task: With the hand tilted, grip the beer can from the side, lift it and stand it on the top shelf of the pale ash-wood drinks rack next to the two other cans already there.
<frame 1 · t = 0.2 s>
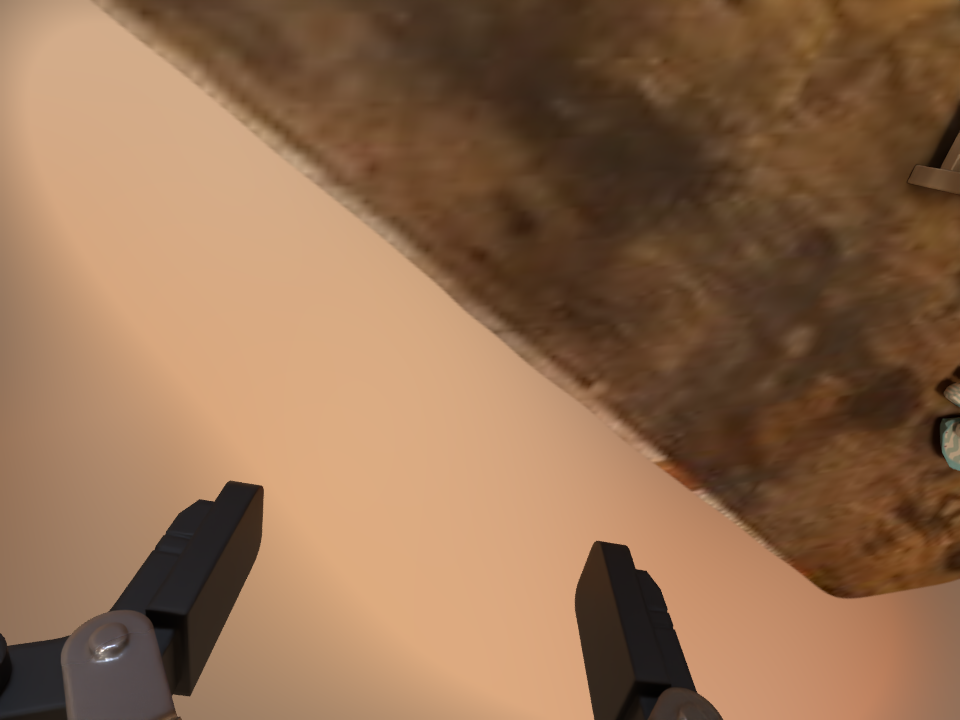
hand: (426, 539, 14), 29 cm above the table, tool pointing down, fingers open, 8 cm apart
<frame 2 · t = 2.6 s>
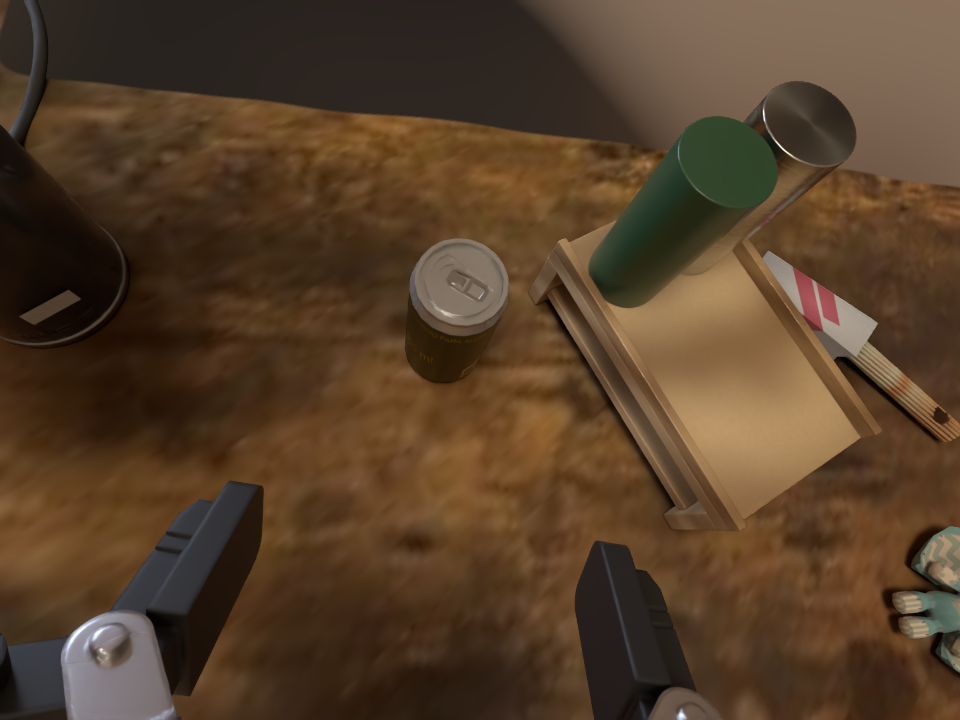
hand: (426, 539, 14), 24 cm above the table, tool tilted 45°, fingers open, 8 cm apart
stuffed animal: (949, 601, 41), on the table
beer can: (441, 349, 41), on the table
rack: (660, 369, 43), on the table
paintbrush: (840, 352, 46), on the table
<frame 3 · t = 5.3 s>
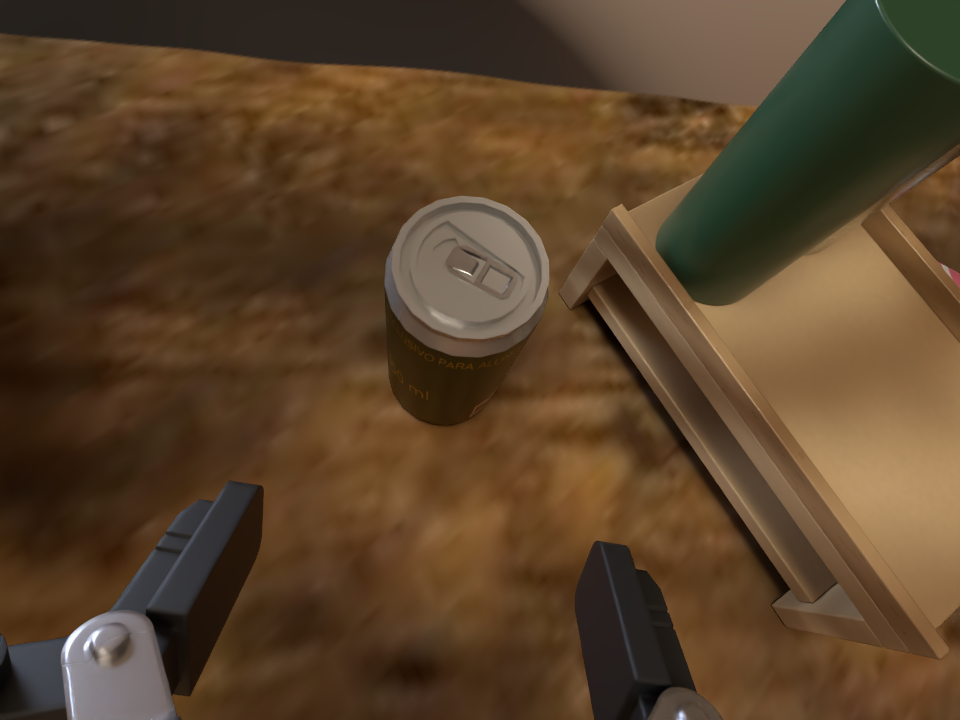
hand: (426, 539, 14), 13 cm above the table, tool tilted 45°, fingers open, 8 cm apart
beer can: (442, 376, 29), on the table
rack: (746, 393, 31), on the table
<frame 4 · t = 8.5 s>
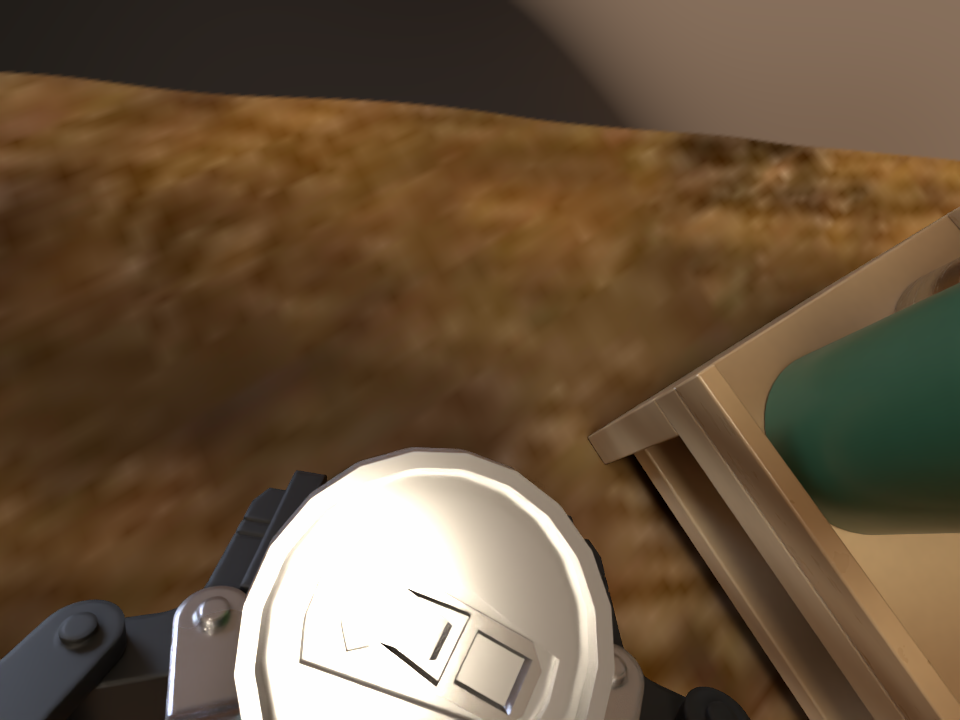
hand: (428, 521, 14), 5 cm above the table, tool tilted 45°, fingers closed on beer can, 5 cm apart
beer can: (411, 583, 19), on the table, touching gripper
rack: (867, 589, 21), on the table
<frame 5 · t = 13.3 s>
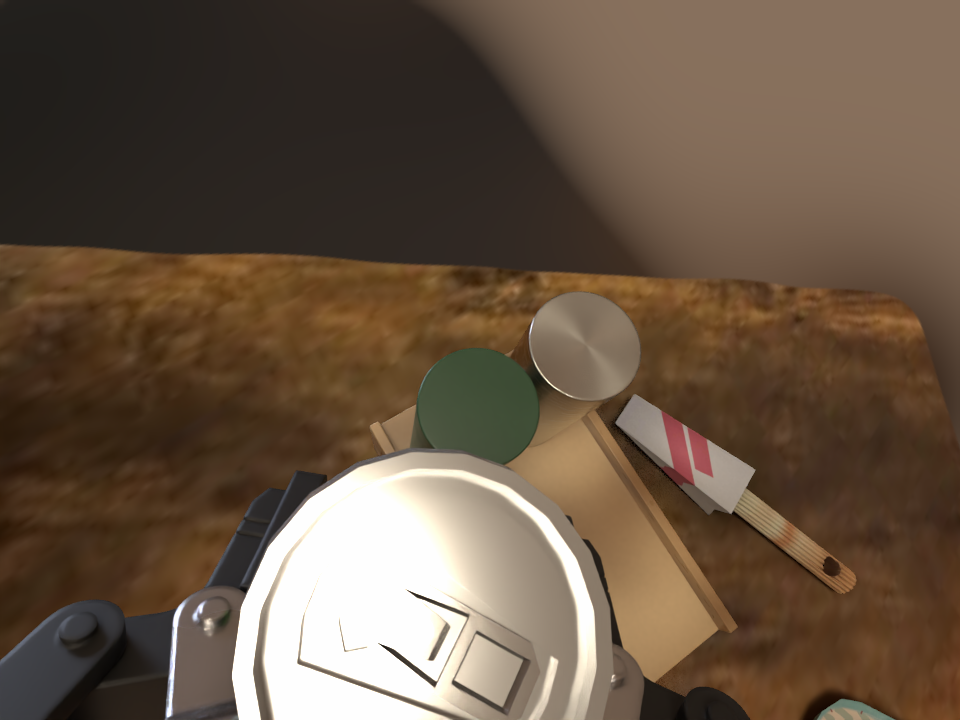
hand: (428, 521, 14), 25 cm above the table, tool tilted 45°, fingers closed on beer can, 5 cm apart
beer can: (411, 583, 19), point 20 cm above the table, touching gripper
rack: (521, 528, 39), on the table
paintbrush: (722, 496, 42), on the table
when the fingers open (12 cm above the table, at t = 18.6 s): beer can stays where it is, resting on rack.
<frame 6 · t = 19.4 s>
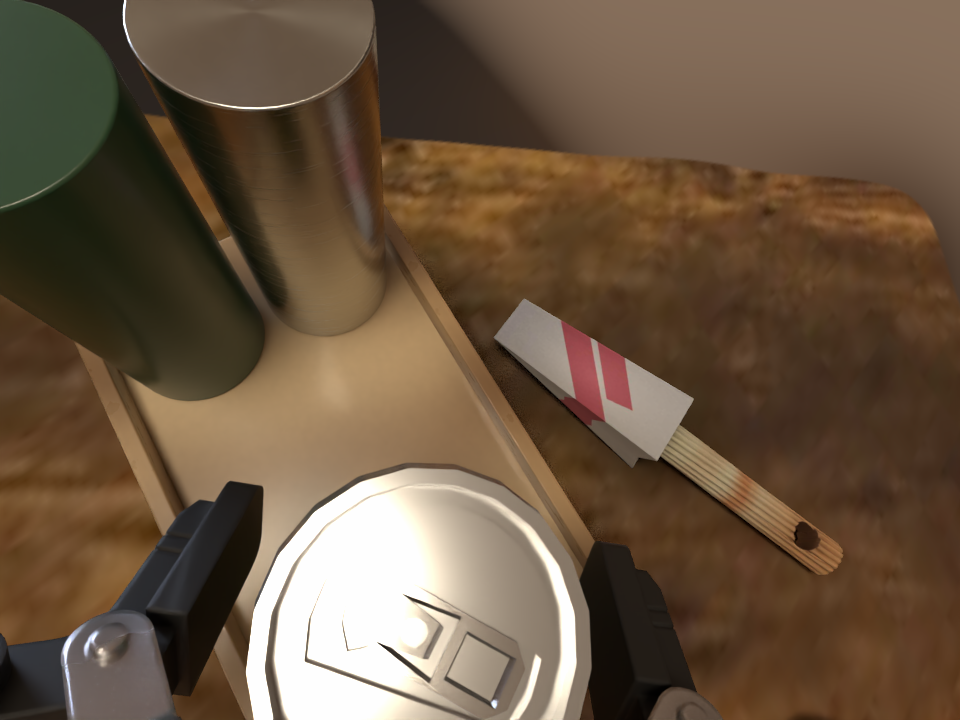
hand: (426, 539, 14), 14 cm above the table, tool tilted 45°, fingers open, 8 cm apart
beer can: (410, 585, 20), point 7 cm above the table, touching rack
rack: (356, 476, 27), on the table
paintbrush: (653, 442, 30), on the table
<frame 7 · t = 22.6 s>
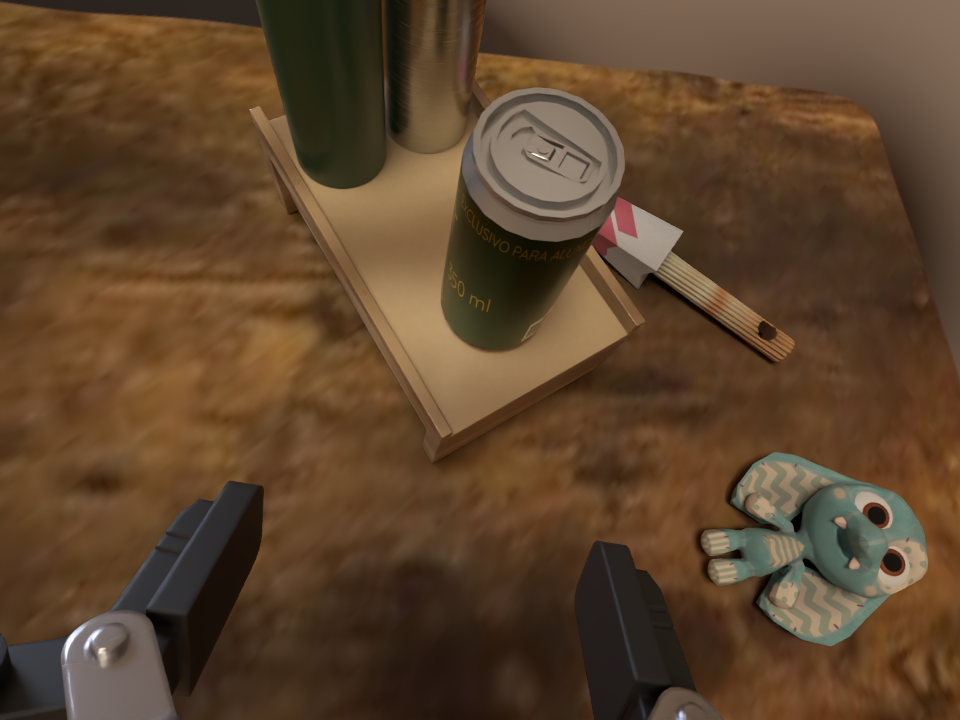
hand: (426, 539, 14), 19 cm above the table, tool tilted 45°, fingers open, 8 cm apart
stuffed animal: (780, 544, 34), on the table
beer can: (490, 306, 29), point 7 cm above the table, touching rack
rack: (435, 284, 37), on the table
paintbrush: (653, 273, 39), on the table
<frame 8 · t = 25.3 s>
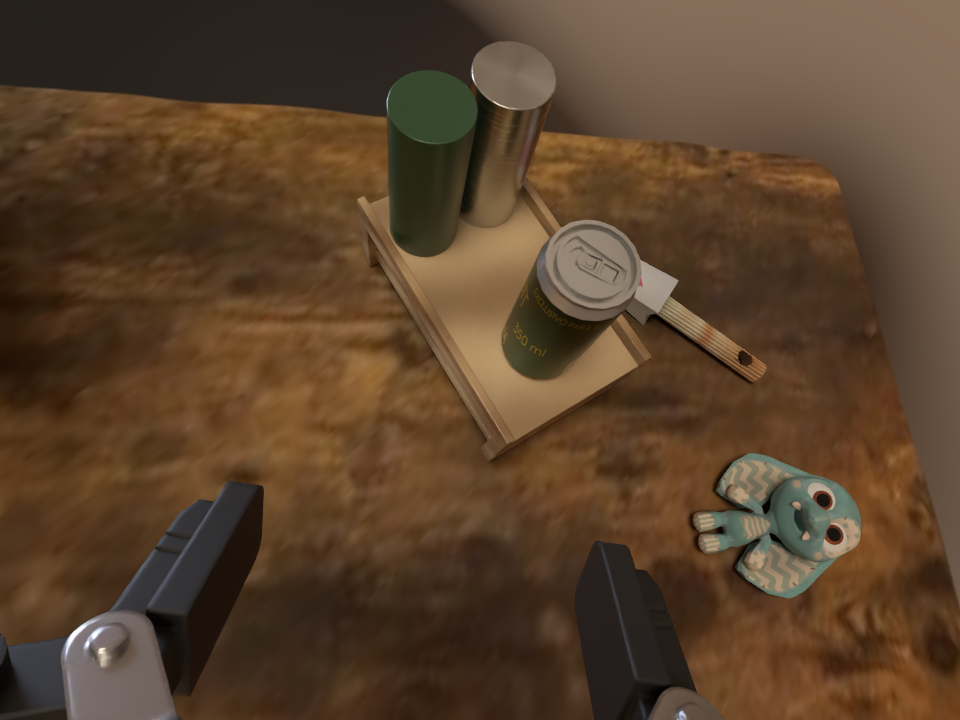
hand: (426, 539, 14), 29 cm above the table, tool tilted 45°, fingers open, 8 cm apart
stuffed animal: (754, 523, 45), on the table
beer can: (537, 346, 39), point 7 cm above the table, touching rack
rack: (485, 321, 47), on the table
paintbrush: (655, 312, 50), on the table
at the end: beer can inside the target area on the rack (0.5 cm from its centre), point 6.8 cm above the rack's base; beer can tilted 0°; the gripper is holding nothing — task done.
